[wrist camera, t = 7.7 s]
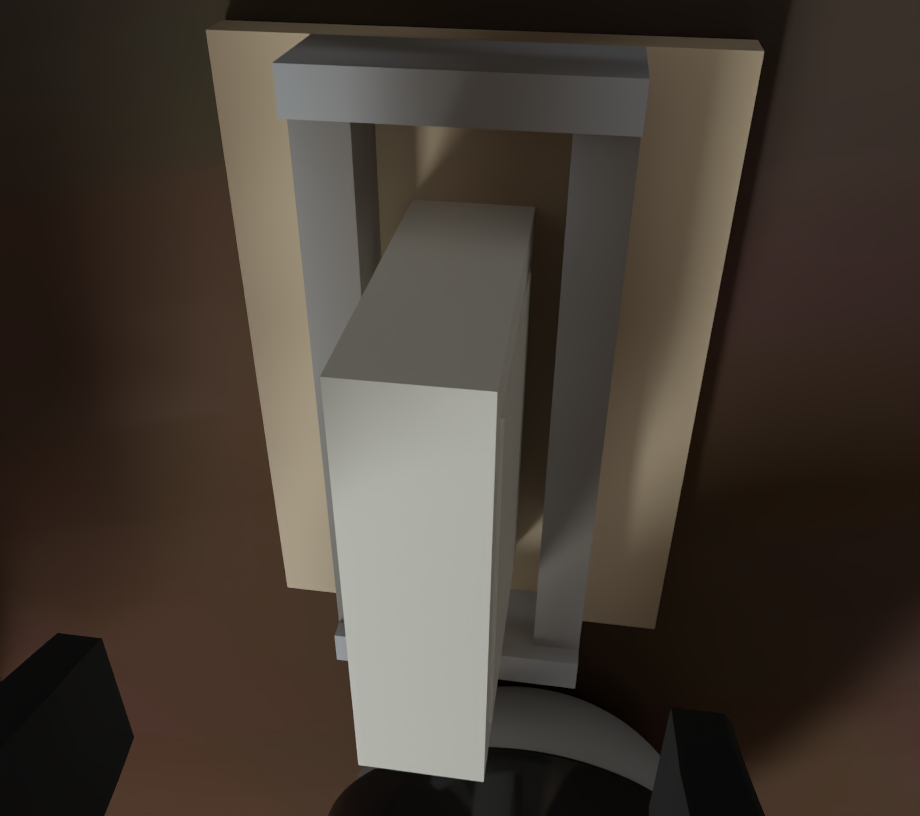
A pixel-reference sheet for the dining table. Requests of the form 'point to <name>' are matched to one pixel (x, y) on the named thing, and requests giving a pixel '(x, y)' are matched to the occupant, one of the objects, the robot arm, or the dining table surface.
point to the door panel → (431, 480)
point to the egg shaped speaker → (526, 767)
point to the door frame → (552, 281)
